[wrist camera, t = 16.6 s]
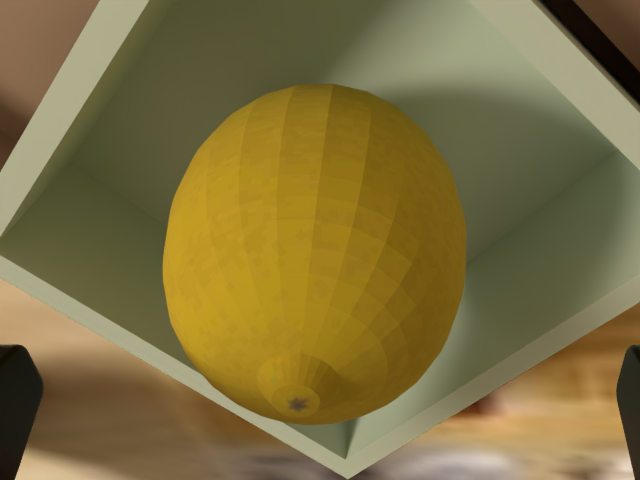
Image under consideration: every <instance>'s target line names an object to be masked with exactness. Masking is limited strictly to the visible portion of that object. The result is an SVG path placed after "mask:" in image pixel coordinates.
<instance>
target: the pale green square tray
mask: <svg viewBox="0 0 640 480" xmlns="http://www.w3.org/2000/svg"><path fill="white" fill-rule="evenodd" d="M299 84H337V85H342V86H346V87H351V88H355V89H359V90H364V91H367V92H369V93H371V94H373V95H375V96H377V97H379V98H381V99H383V100H385V101H387V102H389V103H391V104H393V105H395V106H397V107H398V108H399V109H400V110H402V111H403V112H404V113H405V114H406V115H407V116H408V117H410V118H411V119H412V120H413V121H414V122H415V123H416V124H418V125H419V126H420V127H421V128H422V129H423V130H424V131H425V132H426V133H427V134H428V135H429V137H430V138H431V140H432V141H433V143H434V145H435V146H436V148H437V149H438V151H439V152H440V154H441V155H442V157H443V159H444V160H445V162H446V163H447V165H448V166H449V168H450V171H451V173H452V175H453V178H454V181H455V185H456V188H457V192H458V195H459V199H460V202H461V206H462V209H463V213H464V216H465V223H466V273H465V283H464V289H463V294H462V299H461V302H460V305H459V308H458V311H457V314H456V317H455V320H454V323H453V325H452V328H451V331H450V334H449V336H448V339H447V341H446V343H445V345H444V347H443V349H442V351H441V352H440V354H439V355H438V356H437V358H436V359H435V360H434V362H433V363H432V364H431V366H430V367H429V368H428V370H427V371H426V372H425V373H424V375H423V376H422V377H421V378H420V379H419V381H418V382H417V383H416V384H415V385H413V386H412V387H411V388H409V389H408V390H407V391H406V392H404V393H403V394H402V395H400V396H399V397H398V398H397V399H395V400H394V401H392V402H391V403H389V404H388V405H386V406H384V407H382V408H380V409H377V410H375V411H373V412H371V413H369V414H366V415H364V416H362V417H358V418H355V419H351V420H347V421H342V422H338V423H334V424H322V425H301V424H292V423H284V422H280V421H277V420H273V419H269V418H266V417H262V416H260V415H258V414H256V413H253V412H251V411H249V410H247V409H245V408H243V407H241V406H239V405H237V404H236V403H234V402H233V401H231V400H230V399H229V398H227V397H226V396H225V395H223V394H222V393H221V392H219V391H218V390H216V389H215V388H214V387H212V385H211V384H210V383H209V382H208V381H207V380H206V378H205V377H204V376H203V375H202V374H201V373H200V372H199V370H198V369H197V368H196V367H195V366H194V365H193V364H192V362H191V361H190V360H189V359H188V357H187V355H186V353H185V351H184V349H183V347H182V345H181V343H180V341H179V339H178V337H177V335H176V333H175V331H174V329H173V327H172V324H171V322H170V317H169V312H168V307H167V301H166V295H165V289H164V283H163V254H164V247H165V241H166V234H167V228H168V221H169V215H170V210H171V206H172V202H173V199H174V196H175V194H176V192H177V189H178V187H179V185H180V183H181V181H182V179H183V177H184V175H185V173H186V171H187V169H188V167H189V165H190V163H191V161H192V159H193V157H194V155H195V154H196V152H197V150H198V149H199V148H200V147H201V145H202V144H203V143H204V142H205V141H206V140H207V139H208V138H209V137H210V135H211V134H212V133H213V132H214V131H215V130H216V129H217V128H218V127H219V126H220V125H221V124H222V123H223V122H224V121H225V120H226V119H227V118H228V117H229V116H230V115H231V114H232V113H234V112H235V111H237V110H239V109H241V108H242V107H244V106H246V105H248V104H249V103H251V102H253V101H254V100H256V99H258V98H260V97H261V96H263V95H265V94H267V93H271V92H274V91H278V90H281V89H285V88H289V87H292V86H296V85H299ZM0 278H2V279H4V280H5V281H7V282H9V283H10V284H12V285H14V286H16V287H17V288H19V289H21V290H23V291H24V292H26V293H28V294H29V295H31V296H33V297H35V298H36V299H38V300H40V301H41V302H43V303H45V304H47V305H48V306H50V307H52V308H54V309H55V310H57V311H59V312H60V313H62V314H64V315H66V316H67V317H69V318H71V319H72V320H74V321H76V322H78V323H79V324H81V325H83V326H85V327H86V328H88V329H90V330H91V331H93V332H95V333H97V334H98V335H100V336H102V337H103V338H105V339H107V340H109V341H110V342H112V343H114V344H116V345H117V346H119V347H121V348H122V349H124V350H126V351H128V352H129V353H131V354H133V355H134V356H136V357H138V358H140V359H141V360H143V361H145V362H147V363H148V364H150V365H152V366H153V367H155V368H157V369H159V370H160V371H162V372H164V373H165V374H167V375H169V376H171V377H172V378H174V379H176V380H178V381H179V382H181V383H183V384H184V385H186V386H188V387H190V388H191V389H193V390H195V391H196V392H198V393H200V394H202V395H203V396H205V397H207V398H209V399H210V400H212V401H214V402H215V403H217V404H219V405H221V406H222V407H224V408H226V409H228V410H229V411H231V412H233V413H234V414H236V415H238V416H240V417H241V418H243V419H245V420H246V421H248V422H250V423H252V424H253V425H255V426H257V427H259V428H260V429H262V430H264V431H265V432H267V433H269V434H271V435H272V436H274V437H276V438H277V439H279V440H281V441H283V442H284V443H286V444H288V445H290V446H291V447H293V448H295V449H296V450H298V451H300V452H302V453H303V454H305V455H307V456H308V457H310V458H312V459H314V460H315V461H317V462H319V463H321V464H322V465H324V466H326V467H327V468H329V469H331V470H333V471H334V472H336V473H338V474H339V475H341V476H343V477H345V478H346V479H349V478H351V477H353V476H354V475H356V474H357V473H359V472H361V471H362V470H364V469H366V468H367V467H369V466H371V465H372V464H374V463H376V462H377V461H379V460H381V459H382V458H384V457H385V456H387V455H389V454H390V453H392V452H394V451H395V450H397V449H399V448H400V447H402V446H404V445H405V444H407V443H408V442H410V441H412V440H413V439H415V438H417V437H418V436H420V435H422V434H423V433H425V432H427V431H428V430H430V429H432V428H433V427H435V426H436V425H438V424H440V423H441V422H443V421H445V420H446V419H448V418H450V417H451V416H453V415H455V414H456V413H458V412H460V411H461V410H463V409H464V408H466V407H468V406H469V405H471V404H473V403H474V402H476V401H478V400H479V399H481V398H483V397H484V396H486V395H488V394H489V393H491V392H492V391H494V390H496V389H497V388H499V387H501V386H502V385H504V384H506V383H507V382H509V381H511V380H512V379H514V378H516V377H517V376H519V375H520V374H522V373H524V372H525V371H527V370H529V369H530V368H532V367H534V366H535V365H537V364H539V363H540V362H542V361H543V360H545V359H547V358H548V357H550V356H552V355H553V354H555V353H557V352H558V351H560V350H562V349H563V348H565V347H567V346H568V345H570V344H571V343H573V342H575V341H576V340H578V339H580V338H581V337H583V336H585V335H586V334H588V333H590V332H591V331H593V330H595V329H596V328H598V327H599V326H601V325H603V324H604V323H606V322H608V321H609V320H611V319H613V318H614V317H616V316H618V315H619V314H621V313H623V312H624V311H626V310H627V309H629V308H631V307H632V306H634V305H636V304H637V303H639V302H640V101H639V100H638V99H637V98H636V97H635V96H634V95H633V94H632V93H631V92H630V91H629V90H628V89H627V88H626V86H625V85H624V84H623V83H622V82H621V81H620V80H619V79H618V78H617V77H616V76H615V75H614V74H613V73H612V72H611V71H610V70H609V69H608V68H607V67H606V66H605V64H604V63H603V62H602V61H601V60H600V59H599V58H598V57H597V56H596V55H595V54H594V53H593V52H592V51H591V50H590V49H589V48H588V47H587V46H586V45H585V44H584V42H583V41H582V40H581V39H580V38H579V37H578V36H577V35H576V34H575V33H574V32H573V31H572V30H571V29H570V28H569V27H568V26H567V25H566V24H565V23H564V21H563V20H562V19H561V18H560V17H559V16H558V15H557V14H556V13H555V12H554V11H553V10H552V9H551V8H550V7H549V6H548V5H547V4H546V3H545V2H544V1H543V0H100V1H99V3H98V5H97V6H96V8H95V10H94V12H93V13H92V15H91V17H90V18H89V20H88V22H87V24H86V25H85V27H84V29H83V31H82V32H81V34H80V36H79V37H78V39H77V41H76V43H75V44H74V46H73V48H72V49H71V51H70V53H69V55H68V56H67V58H66V60H65V62H64V63H63V65H62V67H61V68H60V70H59V72H58V74H57V75H56V77H55V79H54V81H53V82H52V84H51V86H50V87H49V89H48V91H47V93H46V94H45V96H44V98H43V99H42V101H41V103H40V105H39V106H38V108H37V110H36V112H35V113H34V115H33V117H32V118H31V120H30V122H29V124H28V125H27V127H26V129H25V131H24V132H23V134H22V136H21V137H20V139H19V141H18V143H17V144H16V146H15V148H14V149H13V151H12V153H11V155H10V156H9V158H8V160H7V162H6V163H5V165H4V167H3V168H2V170H1V172H0Z"/></svg>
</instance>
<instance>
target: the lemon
mask: <svg viewBox="0 0 640 480" xmlns="http://www.w3.org/2000/svg"><path fill="white" fill-rule="evenodd" d="M465 273H466V223H465V216H464V213H463V209H462V206H461V202H460V199H459V195H458V192H457V188H456V185H455V181H454V178H453V175H452V173H451V171H450V168H449V166H448V165H447V163H446V162H445V160H444V159H443V157H442V155H441V154H440V152H439V151H438V149H437V148H436V146H435V145H434V143H433V141H432V140H431V138H430V137H429V135H428V134H427V133H426V132H425V131H424V130H423V129H422V128H421V127H420V126H419V125H418V124H416V123H415V122H414V121H413V120H412V119H411V118H410V117H408V116H407V115H406V114H405V113H404V112H403V111H402V110H400V109H399V108H398V107H397V106H395V105H393V104H391V103H389V102H387V101H385V100H383V99H381V98H379V97H377V96H375V95H373V94H371V93H369V92H367V91H364V90H359V89H355V88H351V87H346V86H342V85H337V84H299V85H296V86H292V87H289V88H285V89H281V90H278V91H274V92H271V93H267V94H265V95H263V96H261V97H260V98H258V99H256V100H254V101H253V102H251V103H249V104H248V105H246V106H244V107H242V108H241V109H239V110H237V111H235V112H234V113H232V114H231V115H230V116H229V117H228V118H227V119H226V120H225V121H224V122H223V123H222V124H221V125H220V126H219V127H218V128H217V129H216V130H215V131H214V132H213V133H212V134H211V135H210V137H209V138H208V139H207V140H206V141H205V142H204V143H203V144H202V145H201V147H200V148H199V149H198V150H197V152H196V154H195V155H194V157H193V159H192V161H191V163H190V165H189V167H188V169H187V171H186V173H185V175H184V177H183V179H182V181H181V183H180V185H179V187H178V189H177V192H176V194H175V196H174V199H173V202H172V206H171V210H170V215H169V221H168V228H167V234H166V241H165V247H164V254H163V283H164V289H165V295H166V301H167V307H168V312H169V317H170V322H171V324H172V327H173V329H174V331H175V333H176V335H177V337H178V339H179V341H180V343H181V345H182V347H183V349H184V351H185V353H186V355H187V357H188V359H189V360H190V361H191V362H192V364H193V365H194V366H195V367H196V368H197V369H198V370H199V372H200V373H201V374H202V375H203V376H204V377H205V378H206V380H207V381H208V382H209V383H210V384H211V385H212V387H214V388H215V389H216V390H218V391H219V392H221V393H222V394H223V395H225V396H226V397H227V398H229V399H230V400H231V401H233V402H234V403H236V404H237V405H239V406H241V407H243V408H245V409H247V410H249V411H251V412H253V413H256V414H258V415H260V416H262V417H266V418H269V419H273V420H277V421H280V422H284V423H292V424H301V425H322V424H334V423H338V422H342V421H347V420H351V419H355V418H358V417H362V416H364V415H366V414H369V413H371V412H373V411H375V410H377V409H380V408H382V407H384V406H386V405H388V404H389V403H391V402H392V401H394V400H395V399H397V398H398V397H399V396H400V395H402V394H403V393H404V392H406V391H407V390H408V389H409V388H411V387H412V386H413V385H415V384H416V383H417V382H418V381H419V379H420V378H421V377H422V376H423V375H424V373H425V372H426V371H427V370H428V368H429V367H430V366H431V364H432V363H433V362H434V360H435V359H436V358H437V356H438V355H439V354H440V352H441V351H442V349H443V347H444V345H445V343H446V341H447V339H448V336H449V334H450V331H451V328H452V325H453V323H454V320H455V317H456V314H457V311H458V308H459V305H460V302H461V299H462V294H463V289H464V283H465Z"/></svg>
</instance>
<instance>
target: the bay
mask: <svg viewBox="0 0 640 480" xmlns="http://www.w3.org/2000/svg"><path fill="white" fill-rule="evenodd" d="M99 1H100V0H0V172H1V170H2V168H3V167H4V165H5V163H6V162H7V160H8V158H9V156H10V155H11V153H12V151H13V149H14V148H15V146H16V144H17V143H18V141H19V139H20V137H21V136H22V134H23V132H24V131H25V129H26V127H27V125H28V124H29V122H30V120H31V118H32V117H33V115H34V113H35V112H36V110H37V108H38V106H39V105H40V103H41V101H42V99H43V98H44V96H45V94H46V93H47V91H48V89H49V87H50V86H51V84H52V82H53V81H54V79H55V77H56V75H57V74H58V72H59V70H60V68H61V67H62V65H63V63H64V62H65V60H66V58H67V56H68V55H69V53H70V51H71V49H72V48H73V46H74V44H75V43H76V41H77V39H78V37H79V36H80V34H81V32H82V31H83V29H84V27H85V25H86V24H87V22H88V20H89V18H90V17H91V15H92V13H93V12H94V10H95V8H96V6H97V5H98V3H99ZM543 1H544V2H545V3H546V4H547V5H548V6H549V7H550V8H551V9H552V10H553V11H554V12H555V13H556V14H557V15H558V16H559V17H560V18H561V19H562V20H563V21H564V23H565V24H566V25H567V26H568V27H569V28H570V29H571V30H572V31H573V32H574V33H575V34H576V35H577V36H578V37H579V38H580V39H581V40H582V41H583V42H584V44H585V45H586V46H587V47H588V48H589V49H590V50H591V51H592V52H593V53H594V54H595V55H596V56H597V57H598V58H599V59H600V60H601V61H602V62H603V63H604V64H605V66H606V67H607V68H608V69H609V70H610V71H611V72H612V73H613V74H614V75H615V76H616V77H617V78H618V79H619V80H620V81H621V82H622V83H623V84H624V85H625V86H626V88H627V89H628V90H629V91H630V92H631V93H632V94H633V95H634V96H635V97H636V98H637V99H638V100H639V101H640V0H543Z"/></svg>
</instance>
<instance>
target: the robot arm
mask: <svg viewBox="0 0 640 480" xmlns="http://www.w3.org/2000/svg"><path fill="white" fill-rule="evenodd" d="M42 394H43V381H42V378H41V376H40V374H39V372H38V370H37V368H36V366H35V364H34V362H33V360H32V358H31V356H30V354H29V352H28V351H27V349H26V348H25V347H23V346H22V345H0V480H15V477H16V474H17V472H18V469H19V466H20V463H21V460H22V456H23V453H24V450H25V447H26V444H27V441H28V438H29V435H30V432H31V429H32V426H33V423H34V420H35V416H36V413H37V410H38V407H39V404H40V401H41V398H42ZM616 394H617V402H618V407H619V411H620V416H621V420H622V424H623V429H624V433H625V437H626V442H627V446H628V451H629V455H630V459H631V464H632V468H633V473H634V477H635V480H640V345H633V346H630V347H629V348H628V349H627V351H626V354H625V357H624V361H623V365H622V368H621V372H620V375H619V379H618V383H617V390H616Z"/></svg>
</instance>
